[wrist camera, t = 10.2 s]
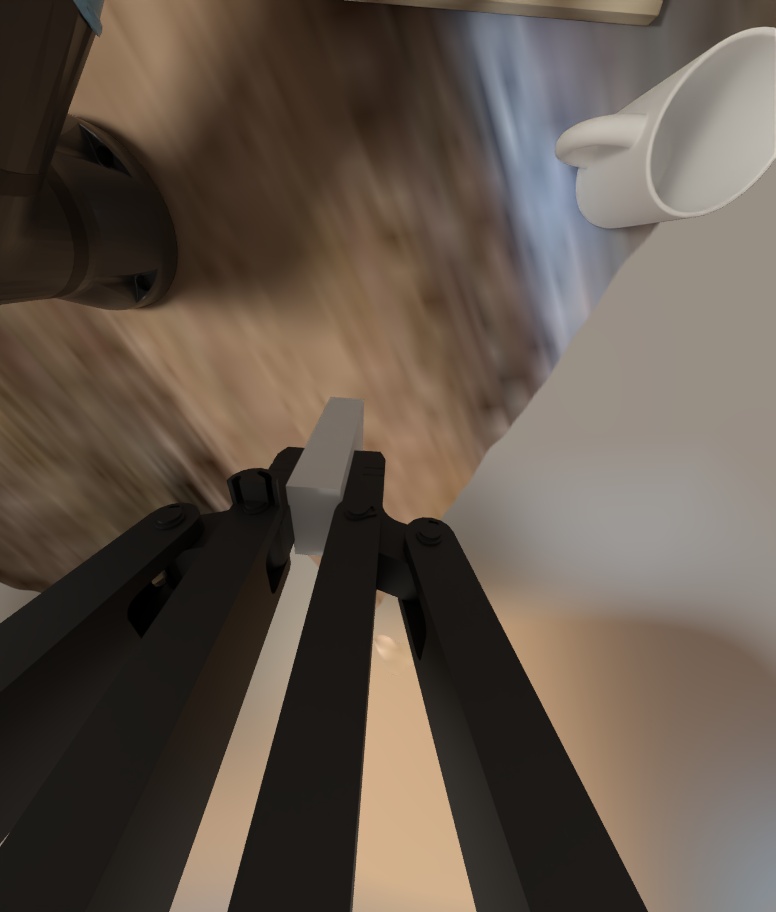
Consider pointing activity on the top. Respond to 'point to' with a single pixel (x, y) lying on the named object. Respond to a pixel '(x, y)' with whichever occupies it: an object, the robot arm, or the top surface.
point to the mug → (681, 139)
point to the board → (551, 8)
